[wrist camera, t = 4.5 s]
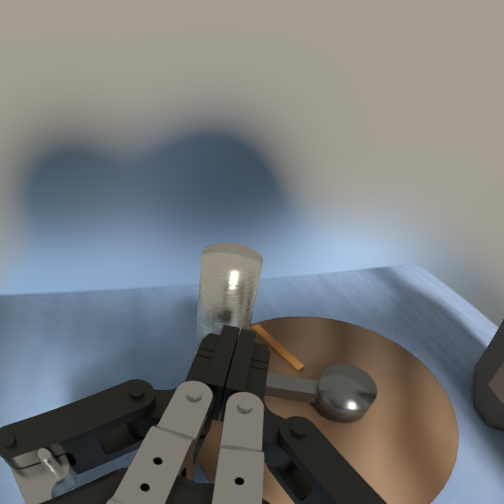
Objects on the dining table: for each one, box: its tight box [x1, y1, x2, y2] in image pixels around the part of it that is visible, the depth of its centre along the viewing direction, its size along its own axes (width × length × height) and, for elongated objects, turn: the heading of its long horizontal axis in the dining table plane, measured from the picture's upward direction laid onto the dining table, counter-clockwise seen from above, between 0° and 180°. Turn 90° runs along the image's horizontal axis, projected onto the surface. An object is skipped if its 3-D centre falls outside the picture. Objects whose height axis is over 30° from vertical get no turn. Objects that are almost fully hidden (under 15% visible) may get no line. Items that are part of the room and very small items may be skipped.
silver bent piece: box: [195, 243, 377, 423], centre depth 18 cm, size 12×4×9 cm, turn 82°
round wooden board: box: [198, 317, 459, 504], centre depth 20 cm, size 20×20×2 cm
